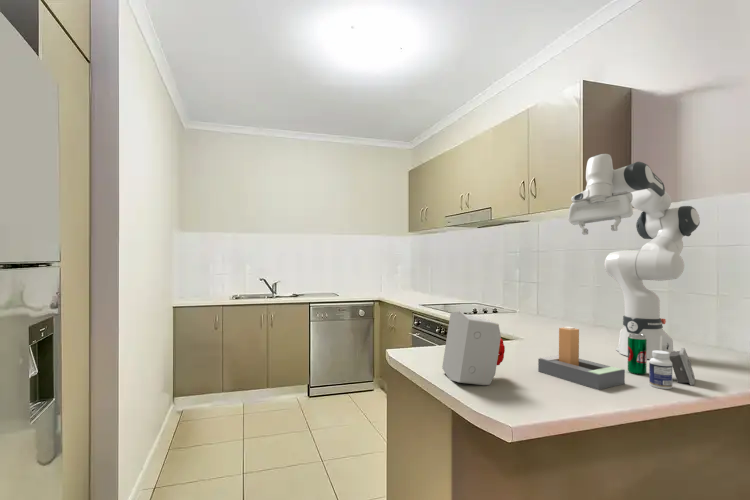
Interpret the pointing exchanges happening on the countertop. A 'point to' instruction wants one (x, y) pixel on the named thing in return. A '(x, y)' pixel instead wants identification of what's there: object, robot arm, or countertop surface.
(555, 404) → the countertop surface
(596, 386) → the toggle switch
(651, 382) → the pill bottle
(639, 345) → the soda can
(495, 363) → the electrical switch box
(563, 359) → the switch tab
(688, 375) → the electrical switch
